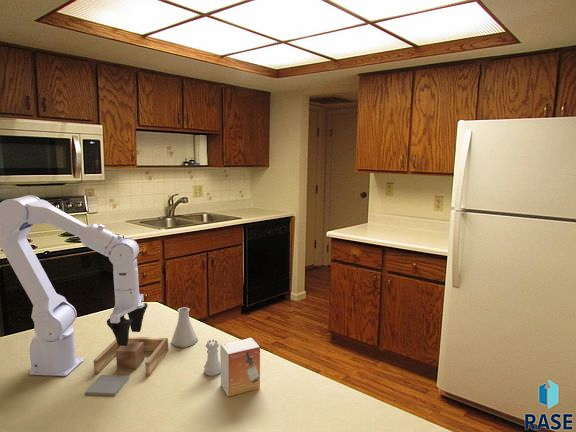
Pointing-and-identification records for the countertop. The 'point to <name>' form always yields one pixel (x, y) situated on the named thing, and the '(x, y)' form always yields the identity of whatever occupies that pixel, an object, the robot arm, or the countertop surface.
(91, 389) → the slate coaster
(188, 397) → the countertop surface
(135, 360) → the walnut block
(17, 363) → the countertop surface
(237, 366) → the small box
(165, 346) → the oak bracket
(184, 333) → the flask
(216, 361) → the rook chess piece
